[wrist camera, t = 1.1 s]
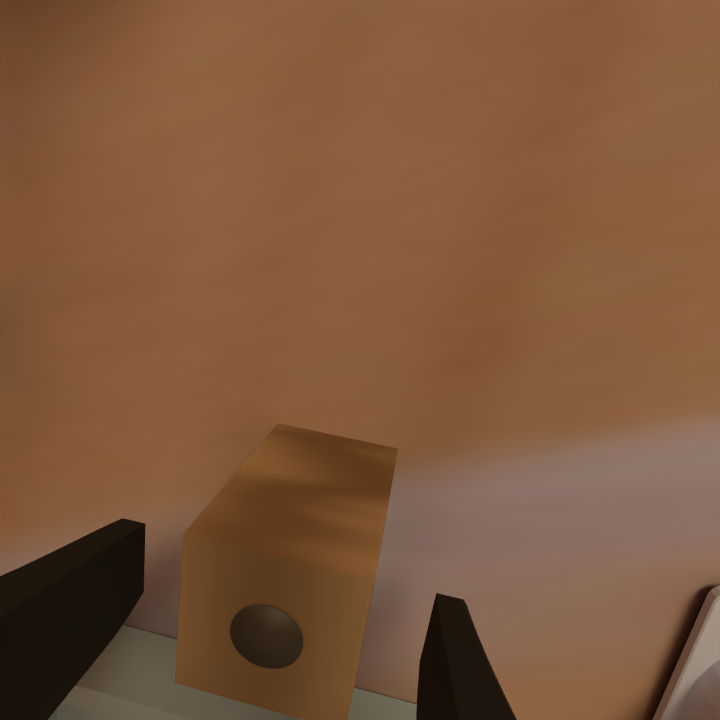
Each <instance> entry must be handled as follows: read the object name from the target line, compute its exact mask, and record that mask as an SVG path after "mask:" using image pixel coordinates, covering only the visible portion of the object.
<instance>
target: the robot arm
mask: <svg viewBox="0 0 720 720" xmlns="http://www.w3.org/2000/svg"><path fill="white" fill-rule="evenodd" d="M144 558H145V524H144V523H140V522H136V521H132V520H128V519H123V518H122V519H120V520H118V521H115V522H113V523H111V524H109V525H107V526H105V527H103V528H100V529H98V530H96V531H94V532H92V533H90V534H88V535H86V536H84V537H82V538H80V539H78V540H76V541H74V542H72V543H70V544H68V545H66V546H64V547H62V548H60V549H58V550H56V551H54V552H51V553H49V554H47V555H45V556H43V557H41V558H39V559H37V560H35V561H33V562H31V563H29V564H27V565H24V566H22V567H20V568H18V569H16V570H13V571H11V572H9V573H7V574H4V575H2V576H0V720H48V719H49V718H50V716H51V715H52V714H53V713H54V711H55V710H56V709H57V708H58V706H59V705H60V704H61V703H62V701H63V700H64V699H65V698H66V697H67V695H68V694H69V693H70V692H71V690H72V689H73V688H74V687H75V685H76V684H77V683H78V682H79V680H80V679H81V678H82V677H83V676H84V674H85V673H86V672H87V671H88V669H89V668H90V667H91V666H92V664H93V663H94V662H95V661H96V659H97V658H98V657H99V656H100V654H101V653H102V652H103V651H104V649H105V648H106V647H107V646H108V644H109V643H110V642H111V640H112V639H113V638H114V637H115V635H116V634H117V633H118V631H119V630H120V628H121V627H122V625H123V624H124V622H125V621H126V619H127V618H128V616H129V615H130V613H131V611H132V610H133V608H134V606H135V605H136V603H137V602H138V600H139V598H140V597H141V595H142V593H143V592H144ZM416 720H517V719H516V717H515V715H514V713H513V711H512V709H511V707H510V705H509V703H508V701H507V699H506V697H505V695H504V693H503V691H502V689H501V686H500V684H499V682H498V680H497V678H496V676H495V674H494V672H493V669H492V667H491V665H490V663H489V660H488V658H487V656H486V653H485V651H484V649H483V646H482V644H481V641H480V639H479V637H478V634H477V632H476V629H475V626H474V624H473V621H472V619H471V616H470V613H469V610H468V607H467V605H466V603H465V602H464V600H463V599H459V598H455V597H450V596H446V595H442V594H438V593H436V597H435V601H434V605H433V609H432V614H431V618H430V622H429V626H428V630H427V634H426V639H425V643H424V647H423V651H422V655H421V659H420V666H419V680H418V694H417V710H416ZM653 720H720V586H717V587H715V588H713V589H712V590H710V592H709V593H708V594H707V596H706V599H705V601H704V603H703V605H702V608H701V610H700V612H699V615H698V617H697V619H696V621H695V624H694V626H693V628H692V631H691V633H690V635H689V637H688V640H687V642H686V644H685V647H684V649H683V651H682V653H681V656H680V658H679V660H678V663H677V665H676V667H675V669H674V672H673V674H672V676H671V679H670V681H669V683H668V685H667V688H666V690H665V692H664V694H663V697H662V699H661V701H660V704H659V706H658V708H657V710H656V713H655V715H654V717H653Z"/></svg>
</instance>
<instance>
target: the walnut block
mask: <svg viewBox="0 0 720 720" xmlns="http://www.w3.org/2000/svg"><path fill="white" fill-rule="evenodd" d="M397 451H398V449H397V448H392V447H387V446H383V445H378V444H373V443H368V442H363V441H359V440H354V439H349V438H344V437H340V436H335V435H330V434H325V433H321V432H316V431H311V430H306V429H302V428H297V427H292V426H287V425H283V424H277V426H276V427H275V428H274V429H273V430H272V431H271V433H270V434H269V435H268V436H267V437H266V438H265V440H264V441H263V442H262V443H261V444H260V445H259V446H258V448H257V449H256V450H255V451H254V452H253V453H252V455H251V456H250V457H249V458H248V459H247V460H246V462H245V463H244V464H243V465H242V466H241V467H240V469H239V470H238V471H237V472H236V473H235V474H234V476H233V477H232V478H231V479H230V480H229V481H228V483H227V484H226V485H225V486H224V487H223V488H222V489H221V491H220V492H219V493H218V494H217V495H216V496H215V498H214V499H213V500H212V501H211V502H210V503H209V505H208V506H207V507H206V508H205V509H204V510H203V512H202V513H201V514H200V515H199V516H198V517H197V519H196V520H195V521H194V522H193V523H192V524H191V526H190V527H189V528H188V529H187V530H186V531H185V533H184V534H183V542H182V560H181V579H180V597H179V615H178V634H177V652H176V670H175V683H176V684H180V685H183V686H187V687H190V688H194V689H197V690H201V691H204V692H208V693H211V694H215V695H218V696H222V697H225V698H229V699H232V700H236V701H240V702H243V703H247V704H250V705H254V706H257V707H261V708H264V709H268V710H271V711H275V712H278V713H282V714H285V715H289V716H292V717H296V718H300V719H303V720H348V715H349V710H350V705H351V700H352V695H353V689H354V684H355V679H356V674H357V669H358V664H359V658H360V653H361V648H362V643H363V638H364V633H365V627H366V622H367V617H368V612H369V607H370V602H371V596H372V591H373V586H374V581H375V575H376V570H377V564H378V558H379V553H380V547H381V541H382V536H383V530H384V524H385V519H386V513H387V508H388V502H389V496H390V491H391V485H392V479H393V474H394V468H395V462H396V457H397Z"/></svg>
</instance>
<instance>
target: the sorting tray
mask: <svg viewBox="0 0 720 720" xmlns="http://www.w3.org/2000/svg"><path fill="white" fill-rule="evenodd" d="M176 652H177V639H173V638H170V637H166V636H162V635H159V634H155V633H151V632H148V631H144V630H140V629H137V628H133V627H129V626H126V625H122V627H121V628H120V630H119V631H118V633H117V634H116V635H115V637H114V638H113V639H112V640H111V642H110V643H109V644H108V646H107V647H106V648H105V649H104V651H103V652H102V653H101V654H100V656H99V657H98V658H97V659H96V661H95V662H94V663H93V664H92V666H91V667H90V668H89V669H88V671H87V672H86V673H85V674H84V676H83V677H82V678H81V679H80V680H79V682H78V683H77V684H76V685H75V687H74V688H73V689H72V690H71V692H70V693H69V694H68V695H67V697H66V698H65V699H64V700H63V701H62V703H61V704H60V705H59V706H58V708H57V709H56V710H55V711H54V713H53V714H52V715H51V716H50V718H49V719H48V720H303V719H300V718H296V717H292V716H289V715H285V714H282V713H278V712H275V711H271V710H268V709H264V708H261V707H257V706H254V705H250V704H247V703H243V702H240V701H236V700H232V699H229V698H225V697H222V696H218V695H215V694H211V693H208V692H204V691H201V690H197V689H194V688H190V687H187V686H183V685H180V684H176V683H175V670H176ZM416 710H417V704H413V703H409V702H406V701H402V700H398V699H395V698H391V697H387V696H384V695H380V694H376V693H373V692H369V691H365V690H362V689H358V688H354V689H353V695H352V700H351V705H350V710H349V715H348V720H416Z"/></svg>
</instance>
